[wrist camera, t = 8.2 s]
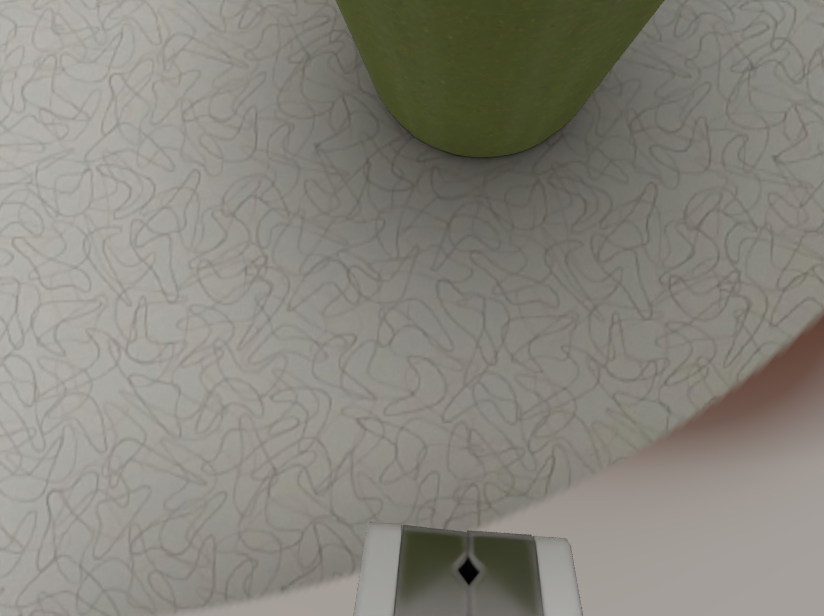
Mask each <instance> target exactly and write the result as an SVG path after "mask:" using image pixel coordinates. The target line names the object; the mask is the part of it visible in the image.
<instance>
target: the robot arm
mask: <svg viewBox="0 0 824 616" xmlns="http://www.w3.org/2000/svg"><path fill="white" fill-rule="evenodd" d="M353 616H583V613H582V607H581V602H580V596H579V591H578V584H577V579H576V573H575V568H574V562H573V556H572V551H571V545H570V544H569V542H568V540H567V539H565V538H554V537H540V536H531V535H526V534H510V533H495V532H482V531H467V532H463V531H454V530H444V529H435V528H426V527H417V526H408V525H403V526H402V525H399V524H388V523H377V522H370V523H369V526H368V529H367V532H366V538H365V544H364V551H363V557H362V563H361V570H360V576H359V583H358V589H357V595H356V602H355V608H354V615H353Z"/></svg>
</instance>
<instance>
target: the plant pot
mask: <svg viewBox="0 0 824 616" xmlns="http://www.w3.org/2000/svg"><path fill="white" fill-rule="evenodd" d="M663 1H664V0H336V2H337V4H338V6H339V9H340V11H341V13H342V15H343V17H344V20H345V22H346V24H347V26H348V28H349V31H350V33H351V35H352V37H353V39H354V42H355V44H356V46H357V48H358V50H359V53H360V55H361V57H362V59H363V62H364V64H365V66H366V68H367V70H368V73H369V75H370V77H371V79H372V82H373V84H374V86H375V89H376V91H377V93H378V95H379V97H380V99H381V100H382V102H383V103H384V105H385V106H386V108H387V109H388V110H389V112H390V113H391V114H392V115H393V116H394V117H395V118H396V119H397V120H398V121H399V123H400V124H401V125H402V126H404V127H405V128H406V129H407V130H408V131H409V132H410V133H411V134H412V135H413V136H414V137H416V138H418V139H419V140H421V141H423V142H425V143H426V144H428V145H430V146H433V147H435V148H438V149H440V150H443V151H446V152H449V153H453V154H456V155H462V156H469V157H494V156H502V155H509V154H514V153H518V152H521V151H524V150H526V149H529V148H531V147H533V146H535V145H537V144H539V143H540V142H542V141H543V140H545V139H546V138H548V137H550V136H551V135H552V134H554V133H555V132H557V131H558V130H559V129H561V128H562V127H563V126H565V125H566V124H567V123H568V122H569V121H570V120H571V119H572V118H573V117H574V116H575V115H576V113H577V112H578V111H579V110H580V108H581V107H582V106H583V105H584V103H585V102H586V101H587V99H588V98H589V97H590V95H591V94H592V93H593V92H594V90H595V89H596V88H597V86H598V85H599V84H600V82H601V81H602V80H603V78H604V77H605V76H606V75H607V73H608V72H609V71H610V69H611V68H612V67H613V65H614V64H615V63H616V62H617V60H618V59H619V58H620V56H621V55H622V54H623V52H624V51H625V50H626V49H627V47H628V46H629V45H630V44H631V42H632V41H633V40H634V38H635V37H636V36H637V35H638V33H639V32H640V31H641V30H642V28H643V27H644V26H645V24H646V23H647V22H648V21H649V19H650V18H651V17H652V15H653V14H654V13H655V12H656V10H657V9H658V8H659V6H660V5H661V4H662V3H663Z"/></svg>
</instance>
